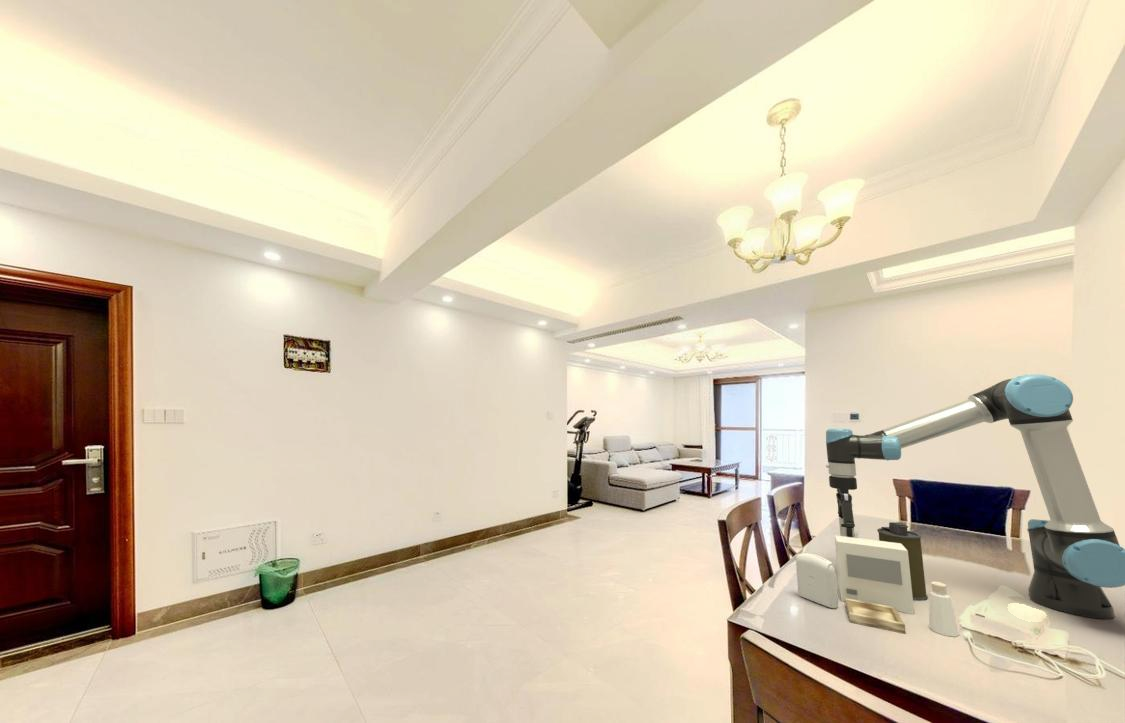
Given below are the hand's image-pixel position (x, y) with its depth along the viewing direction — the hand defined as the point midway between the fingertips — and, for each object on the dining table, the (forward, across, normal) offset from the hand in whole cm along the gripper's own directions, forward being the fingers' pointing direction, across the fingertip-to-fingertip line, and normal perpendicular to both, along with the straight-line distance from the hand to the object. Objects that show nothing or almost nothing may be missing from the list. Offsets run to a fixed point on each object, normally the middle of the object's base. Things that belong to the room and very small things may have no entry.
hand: (847, 544), depth 131 cm
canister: (+12, +1, +13) cm, 18 cm away
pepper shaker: (+12, +26, +16) cm, 33 cm away
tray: (+12, +27, +2) cm, 29 cm away
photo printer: (+12, +22, -10) cm, 27 cm away
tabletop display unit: (+12, +14, +4) cm, 19 cm away
